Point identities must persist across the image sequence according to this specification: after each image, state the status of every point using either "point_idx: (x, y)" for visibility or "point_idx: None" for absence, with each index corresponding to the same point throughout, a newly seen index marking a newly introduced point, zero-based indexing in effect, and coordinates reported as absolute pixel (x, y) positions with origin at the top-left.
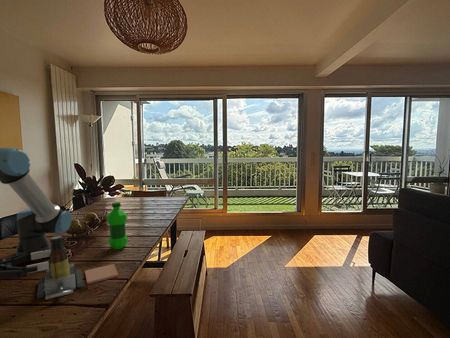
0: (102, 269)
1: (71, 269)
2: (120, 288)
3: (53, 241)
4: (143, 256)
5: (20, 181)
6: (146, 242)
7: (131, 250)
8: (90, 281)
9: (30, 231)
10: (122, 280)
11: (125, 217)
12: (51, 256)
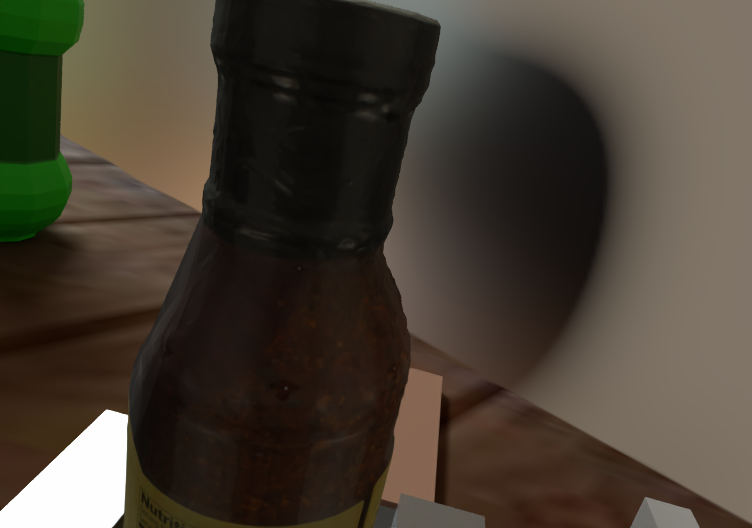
0: None
1: None
2: (609, 446)
3: (414, 74)
4: None
5: None
6: (118, 192)
7: (134, 238)
8: (433, 495)
9: None
10: (507, 402)
11: (83, 5)
12: (346, 397)
